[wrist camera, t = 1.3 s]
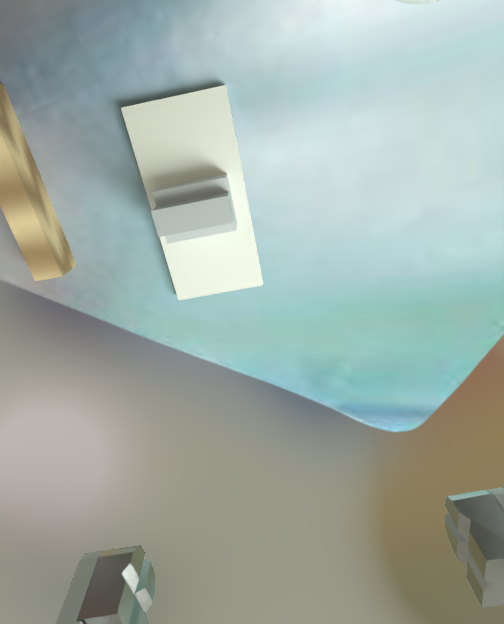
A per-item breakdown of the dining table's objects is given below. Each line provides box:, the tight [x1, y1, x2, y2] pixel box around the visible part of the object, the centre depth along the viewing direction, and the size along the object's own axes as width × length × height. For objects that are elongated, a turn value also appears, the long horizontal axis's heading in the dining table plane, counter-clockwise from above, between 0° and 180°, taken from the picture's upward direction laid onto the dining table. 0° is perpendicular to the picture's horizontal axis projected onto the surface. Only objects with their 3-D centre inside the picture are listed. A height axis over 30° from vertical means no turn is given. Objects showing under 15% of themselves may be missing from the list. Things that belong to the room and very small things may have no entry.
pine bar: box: [0, 83, 76, 281], centre depth 38 cm, size 18×3×4 cm, turn 10°
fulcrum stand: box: [121, 85, 263, 300], centre depth 37 cm, size 20×10×7 cm, turn 11°
